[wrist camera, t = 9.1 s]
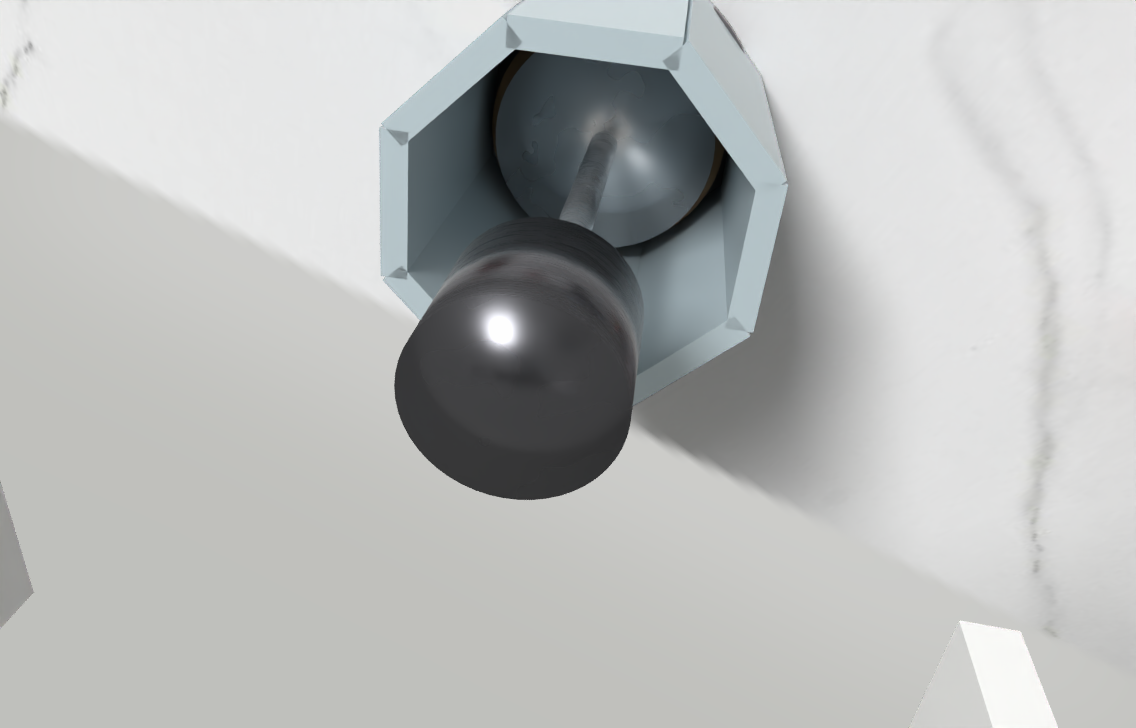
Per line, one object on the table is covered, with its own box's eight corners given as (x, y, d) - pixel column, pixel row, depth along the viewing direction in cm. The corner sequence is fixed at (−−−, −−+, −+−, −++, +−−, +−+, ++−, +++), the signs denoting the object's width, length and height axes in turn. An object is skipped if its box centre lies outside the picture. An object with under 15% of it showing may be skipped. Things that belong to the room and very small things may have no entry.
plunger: (507, 10, 31) (298, 173, 15) (734, 40, 30) (765, 241, 15) (494, 224, 35) (318, 528, 19) (694, 253, 34) (683, 591, 19)
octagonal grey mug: (486, -54, 33) (374, -8, 22) (783, -16, 32) (824, 51, 21) (469, 289, 40) (379, 454, 29) (711, 326, 40) (714, 510, 29)
